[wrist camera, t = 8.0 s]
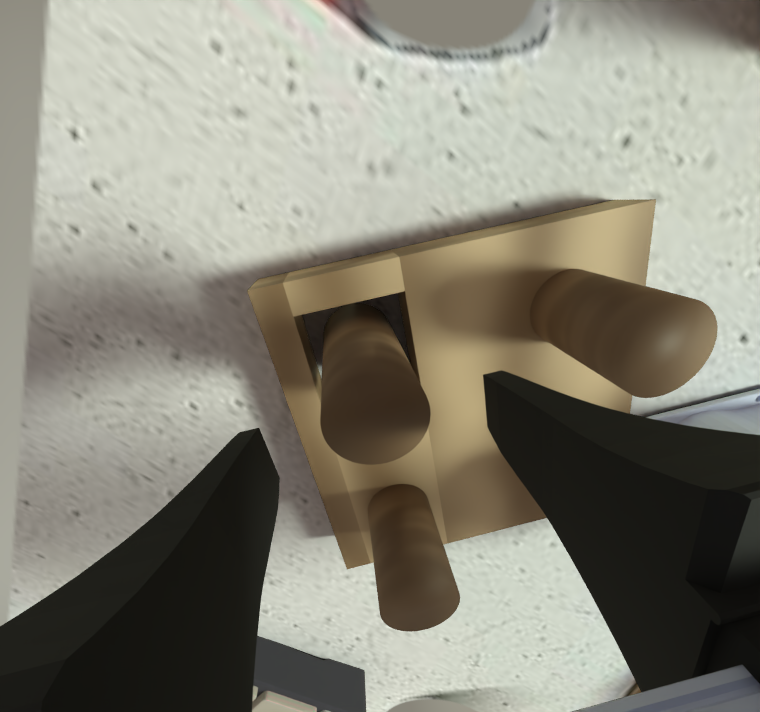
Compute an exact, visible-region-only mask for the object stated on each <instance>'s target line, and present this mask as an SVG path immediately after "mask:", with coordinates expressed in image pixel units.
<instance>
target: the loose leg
mask: <svg viewBox="0 0 760 712" xmlns="http://www.w3.org/2000/svg"><path fill="white" fill-rule="evenodd" d="M430 415H431V412H430V405H429V401H428V399H427V396H426V394H425V392H424V390H423V388H422V386H421V384H420V382H419V380H418V378H417V376H416V374H415V372H414V370H413V368H412V367H411V365H410V363H409V361H408V359H407V357H406V355H405V353H404V351H403V349H402V347H401V345H400V343H399V341H398V339H397V337H396V335H395V333H394V331H393V329H392V327H391V325H390V323H389V321H388V319H387V318H386V316H385V315H384V314H383V313H382V312H381V311H380V310H379V309H377V308H376V307H374V306H372V305H369V304H365V303H352V304H348V305H345V306H342V307H341V308H339V309H337V310H336V311H335V312H334V313H333V314H332V315H331V316H330V317H329V319H328V321H327V322H326V325H325V328H324V336H323V363H322V389H321V415H320V424H321V431H322V434H323V437H324V439H325V441H326V443H327V444H328V445H329V447H330V448H331V449H332V450H333V451H334V452H335V453H336V454H338V455H339V456H341V457H342V458H344V459H346V460H349V461H351V462H354V463H359V464H366V465H376V464H383V463H388V462H391V461H394V460H396V459H399V458H401V457H403V456H404V455H406V454H407V453H409V452H410V451H412V450H413V449H414V448H415V447H416V446H417V445H418V444H419V443H420V441H421V440H422V439H423V437H424V435H425V434H426V432H427V429H428V426H429V423H430Z"/></svg>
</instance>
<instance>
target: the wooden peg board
mask: <svg viewBox="0 0 760 712" xmlns="http://www.w3.org/2000/svg"><path fill="white" fill-rule="evenodd" d="M655 203H656V199H654V200H612V201H607V202H603V203H598V204H594V205H589V206H585V207H580V208H576V209H571V210H567V211H562V212H558V213H553V214H549V215H544V216H540V217H535V218H531V219H526V220H522V221H517V222H513V223H508V224H504V225H499V226H495V227H490V228H486V229H481V230H477V231H472V232H468V233H463V234H459V235H454V236H450V237H445V238H441V239H436V240H432V241H427V242H423V243H418V244H414V245H409V246H405V247H400V248H396V249H391V250H387V251H382V252H378V253H373V254H369V255H364V256H360V257H355V258H351V259H346V260H342V261H337V262H333V263H328V264H324V265H319V266H315V267H310V268H306V269H302V270H297V271H293V272H288V273H284V274H279V275H275V276H270V277H266V278H261V279H258V280H257V281H256V282H255V283H254V284H253V285H252V286H251V287H250V288H249V289H248V291H247V292H248V295H249V297H250V300H251V303H252V306H253V308H254V311H255V314H256V317H257V320H258V322H259V325H260V328H261V331H262V334H263V336H264V339H265V342H266V345H267V347H268V350H269V353H270V356H271V359H272V361H273V364H274V367H275V370H276V372H277V375H278V378H279V381H280V384H281V386H282V389H283V392H284V395H285V398H286V400H287V403H288V406H289V409H290V411H291V414H292V417H293V420H294V423H295V425H296V428H297V431H298V434H299V436H300V439H301V442H302V445H303V448H304V450H305V453H306V456H307V459H308V462H309V464H310V467H311V470H312V473H313V475H314V478H315V481H316V484H317V487H318V489H319V492H320V495H321V498H322V500H323V503H324V506H325V509H326V512H327V514H328V517H329V520H330V523H331V526H332V528H333V531H334V534H335V537H336V539H337V542H338V545H339V548H340V551H341V553H342V556H343V559H344V562H345V564H346V567H347V569H350V568H354V567H358V566H361V565H365V564H369V563H373V562H374V568H375V576H376V584H377V592H378V601H379V609H380V615H381V618H382V620H383V621H384V623H386V624H387V625H388V626H389V627H391V628H394V629H397V630H401V631H420V630H425V629H428V628H431V627H434V626H436V625H438V624H440V623H442V622H444V621H445V620H446V619H448V618H449V617H450V616H451V615H452V614H453V613H454V612H455V610H456V609H457V607H458V605H459V602H460V594H459V591H458V588H457V585H456V582H455V579H454V576H453V573H452V570H451V567H450V564H449V561H448V558H447V555H446V552H445V549H444V546H443V544H447V543H451V542H454V541H458V540H462V539H466V538H470V537H474V536H478V535H482V534H485V533H489V532H493V531H497V530H501V529H505V528H509V527H513V526H516V525H520V524H524V523H528V522H532V521H536V520H540V519H544V518H547V517H546V515H545V514H544V512H543V511H542V509H541V508H540V507H539V505H538V504H537V503H536V501H535V500H534V498H533V497H532V496H531V494H530V493H529V491H528V490H527V489H526V487H525V486H524V485H523V483H522V482H521V480H520V479H519V478H518V476H517V475H516V474H515V472H514V471H513V469H512V468H511V466H510V465H509V464H508V462H507V461H506V459H505V458H504V457H503V455H502V454H501V452H500V450H499V448H498V447H497V445H496V443H495V441H494V439H493V437H492V435H491V433H490V431H489V429H488V427H487V417H486V405H485V393H484V381H483V375H484V374H488V373H492V372H496V371H501V370H502V371H506V372H509V373H511V374H514V375H517V376H519V377H522V378H524V379H527V380H529V381H532V382H534V383H537V384H539V385H542V386H544V387H547V388H550V389H552V390H555V391H557V392H560V393H563V394H566V395H568V396H571V397H574V398H577V399H580V400H583V401H586V402H589V403H592V404H596V405H599V406H602V407H606V408H609V409H613V410H617V411H621V412H625V413H629V414H630V409H631V400H632V395H633V396H636V397H641V398H652V397H658V396H661V395H665V394H667V393H670V392H672V391H674V390H676V389H678V388H679V387H681V386H682V385H684V384H685V383H686V382H688V381H689V380H690V379H691V378H692V377H693V376H695V375H696V373H697V372H698V371H699V370H700V369H701V368H702V367H703V365H704V364H705V362H706V361H707V359H708V358H709V356H710V354H711V352H712V350H713V347H714V345H715V341H716V337H717V321H716V318H715V315H714V313H713V311H712V310H711V309H710V307H709V306H708V305H706V304H705V303H703V302H701V301H699V300H696V299H692V298H688V297H685V296H681V295H677V294H673V293H669V292H666V291H662V290H658V289H654V288H650V287H646V286H645V285H646V277H647V269H648V261H649V252H650V244H651V236H652V228H653V219H654V211H655ZM395 293H398V297H399V303H400V308H401V314H402V320H403V325H404V331H405V337H406V342H407V348H408V353H409V359H410V365H411V367H412V368H413V370H414V372H415V374H416V376H417V378H418V380H419V382H420V384H421V386H422V388H423V390H424V392H425V394H426V396H427V399H428V401H429V405H430V412H431V415H430V423H429V426H428V429H427V432H426V434H425V435H424V437H423V439H422V440H421V441H420V443H419V444H418V445H417V446H416V447H415V448H414V449H413V450H412V451H410V452H409V453H407V454H406V455H404V456H403V457H401V458H399V459H396V460H394V461H391V462H388V463H383V464H376V465H366V464H359V463H354V462H351V461H349V460H346V459H344V458H342V457H341V456H339V455H338V454H336V453H335V452H334V451H333V450H332V449H331V448H330V447H329V445H328V444H327V443H326V441H325V439H324V437H323V434H322V431H321V424H320V415H321V389H322V380H321V376H320V373H319V370H318V366H317V363H316V360H315V356H314V353H313V350H312V347H311V343H310V340H309V337H308V333H307V330H306V327H305V323H304V320H303V317H302V315H303V314H307V313H312V312H316V311H320V310H325V309H329V308H334V307H338V306H342V305H347V304H351V303H355V302H360V301H364V300H369V299H373V298H377V297H382V296H386V295H391V294H395Z"/></svg>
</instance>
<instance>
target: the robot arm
mask: <svg viewBox="0 0 760 712" xmlns="http://www.w3.org/2000/svg"><path fill="white" fill-rule="evenodd" d="M483 381H484V393H485V405H486V417H487V427H488V429H489V431H490V433H491V435H492V437H493V439H494V441H495V443H496V445H497V447H498V448H499V450H500V452H501V454H502V455H503V457H504V458H505V459H506V461H507V462H508V464H509V465H510V466H511V468H512V469H513V471H514V472H515V474H516V475H517V476H518V478H519V479H520V480H521V482H522V483H523V485H524V486H525V487H526V489H527V490H528V491H529V493H530V494H531V496H532V497H533V498H534V500H535V501H536V503H537V504H538V505H539V507H540V508H541V509H542V511H543V512H544V514H545V515H546V517H547V518H548V520H549V521H550V523H551V524H552V526H553V528H554V530H555V531H556V533H557V535H558V536H559V538H560V540H561V542H562V543H563V545H564V547H565V548H566V550H567V552H568V554H569V555H570V557H571V559H572V561H573V562H574V564H575V566H576V568H577V570H578V571H579V573H580V575H581V577H582V579H583V580H584V582H585V584H586V586H587V588H588V589H589V591H590V593H591V595H592V597H593V599H594V601H595V602H596V604H597V606H598V608H599V610H600V612H601V614H602V616H603V618H604V620H605V621H606V623H607V625H608V627H609V629H610V631H611V633H612V635H613V637H614V638H615V640H616V642H617V644H618V646H619V648H620V650H621V652H622V654H623V656H624V658H625V660H626V662H627V664H628V666H629V668H630V670H631V672H632V674H633V676H634V678H635V680H636V682H637V684H638V686H639V688H640V690H641V693H637V694H634V695H630V696H627V697H623V698H619V699H616V700H612V701H608V702H605V703H601V704H598V705H594V706H590V707H587V708H583V709H579V710H576V711H572V712H760V389H757V390H753V391H749V392H745V393H741V394H737V395H732V396H728V397H724V398H720V399H716V400H712V401H708V402H704V403H700V404H696V405H692V406H688V407H684V408H680V409H676V410H672V411H668V412H664V413H660V414H656V415H652V416H649V417H641V416H637V415H633V414H629V413H625V412H621V411H617V410H613V409H609V408H606V407H602V406H599V405H596V404H592V403H589V402H586V401H583V400H580V399H577V398H574V397H571V396H568V395H566V394H563V393H560V392H557V391H555V390H552V389H550V388H547V387H544V386H542V385H539V384H537V383H534V382H532V381H529V380H527V379H524V378H522V377H519V376H517V375H514V374H511V373H509V372H506V371H502V370H501V371H496V372H492V373H488V374H484V375H483ZM279 479H280V478H279V475H278V473H277V470H276V468H275V465H274V463H273V461H272V458H271V456H270V453H269V451H268V448H267V446H266V444H265V441H264V439H263V436H262V434H261V431H260V429H259V428H256V429H252V430H248V431H244V432H240V433H238V434H237V435H236V436H235V437H234V438H233V439H232V440H231V441H230V442H229V443H228V444H227V445H226V446H225V447H224V448H223V449H222V450H221V451H220V452H219V453H218V454H217V455H216V456H215V457H214V458H213V460H212V461H211V462H210V463H209V464H208V465H207V466H206V467H205V468H204V469H203V470H202V471H201V472H200V473H199V474H198V475H197V476H196V477H195V478H194V479H193V480H192V481H191V482H190V483H189V484H188V485H187V486H186V487H185V488H184V489H183V490H182V491H181V492H180V493H179V494H178V495H176V496H175V497H174V498H173V499H172V500H171V501H170V502H169V503H168V504H167V505H166V506H165V507H164V508H163V509H162V510H161V511H159V512H158V513H157V514H156V515H155V516H154V517H153V518H152V519H150V520H149V521H148V522H147V523H146V524H144V525H143V526H142V527H141V528H140V529H138V530H137V531H136V532H135V533H134V534H132V535H131V536H130V537H129V538H128V539H126V540H125V541H124V542H122V543H121V544H120V545H119V546H117V547H116V548H115V549H113V550H112V551H110V552H109V553H108V554H106V555H105V556H104V557H102V558H101V559H100V560H98V561H97V562H96V563H94V564H93V565H92V566H90V567H89V568H88V569H86V570H85V571H84V572H82V573H81V574H80V575H78V576H77V577H75V578H74V579H72V580H71V581H69V582H68V583H67V584H65V585H64V586H62V587H61V588H59V589H58V590H56V591H55V592H53V593H52V594H50V595H49V596H47V597H46V598H44V599H43V600H41V601H40V602H38V603H37V604H35V605H34V606H32V607H30V608H29V609H27V610H26V611H24V612H23V613H21V614H20V615H18V616H16V617H15V618H13V619H12V620H10V621H8V622H7V623H5V624H4V625H2V626H0V712H252V701H253V683H254V670H255V657H256V644H257V632H258V622H259V612H260V602H261V595H262V588H263V582H264V577H265V572H266V567H267V562H268V557H269V552H270V547H271V542H272V537H273V531H274V526H275V521H276V516H277V510H278V499H279Z"/></svg>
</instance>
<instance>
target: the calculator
mask: <svg viewBox="0 0 760 712" xmlns="http://www.w3.org/2000/svg"><path fill="white" fill-rule="evenodd" d="M252 712H366V696H365V672H364V670H362V669H359V668H356V667H353V666H350V665H347V664H344V663H341V662H337V661H334V660H331V659H325V660H322V659H319V658H316V657H314V656H311V655H309V654H306V653H304V652H301V651H299V650H296V649H294V648H291V647H288V646H286V645H283V644H280V643H277V642H274V641H271V640H268V639H265V638H262V637H259V636H257V644H256V657H255V670H254V683H253V701H252Z"/></svg>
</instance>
